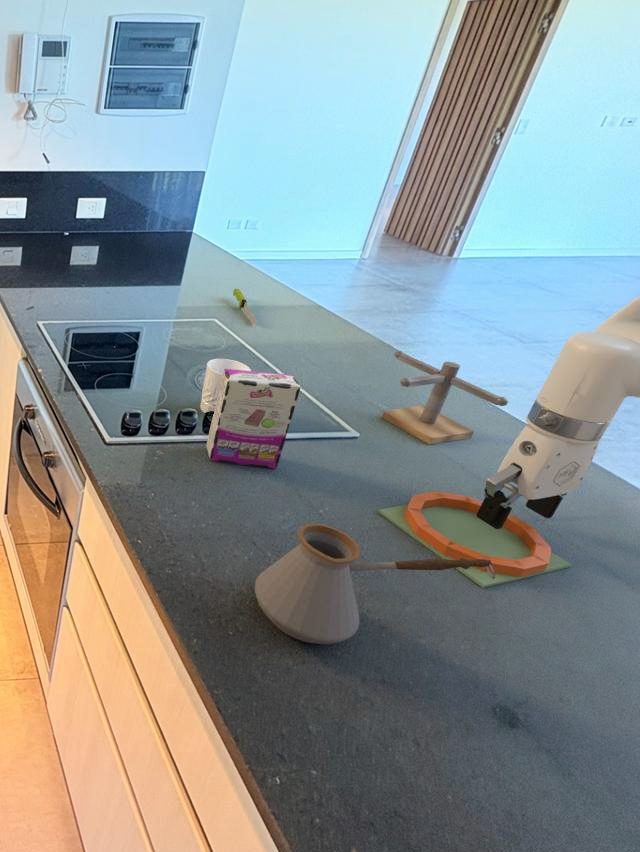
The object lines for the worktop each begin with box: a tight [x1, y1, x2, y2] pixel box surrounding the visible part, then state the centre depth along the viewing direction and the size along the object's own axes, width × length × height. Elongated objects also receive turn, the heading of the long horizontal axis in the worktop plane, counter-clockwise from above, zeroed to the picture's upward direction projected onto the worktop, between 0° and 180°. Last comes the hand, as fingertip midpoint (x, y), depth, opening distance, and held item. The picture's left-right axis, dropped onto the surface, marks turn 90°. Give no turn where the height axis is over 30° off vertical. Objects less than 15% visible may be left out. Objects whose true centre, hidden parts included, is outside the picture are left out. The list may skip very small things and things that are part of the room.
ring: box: [404, 490, 552, 577], centre depth 91 cm, size 16×16×2 cm
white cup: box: [199, 358, 252, 414], centre depth 123 cm, size 8×8×10 cm
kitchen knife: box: [232, 288, 259, 325], centre depth 173 cm, size 22×1×3 cm, turn 170°
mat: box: [377, 503, 573, 589], centre depth 92 cm, size 16×16×1 cm
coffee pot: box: [254, 523, 495, 645], centre depth 74 cm, size 21×12×15 cm, turn 69°
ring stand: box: [381, 350, 509, 446], centre depth 116 cm, size 15×21×14 cm
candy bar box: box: [205, 369, 302, 469], centre depth 107 cm, size 11×5×16 cm, turn 76°
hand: (513, 517), depth 92 cm, fingers open, 9 cm apart
